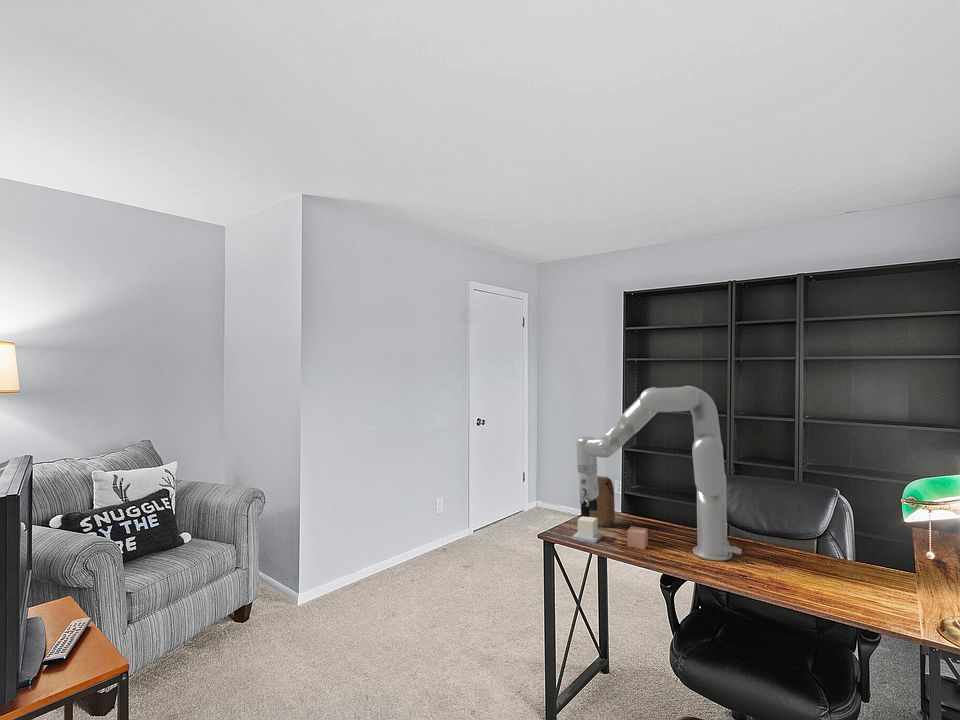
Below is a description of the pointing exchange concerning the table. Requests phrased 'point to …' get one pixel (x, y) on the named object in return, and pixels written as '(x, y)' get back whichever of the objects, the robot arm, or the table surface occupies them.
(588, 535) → the cream brick
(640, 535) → the terracotta brick
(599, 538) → the plate
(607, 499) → the block
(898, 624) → the table surface
